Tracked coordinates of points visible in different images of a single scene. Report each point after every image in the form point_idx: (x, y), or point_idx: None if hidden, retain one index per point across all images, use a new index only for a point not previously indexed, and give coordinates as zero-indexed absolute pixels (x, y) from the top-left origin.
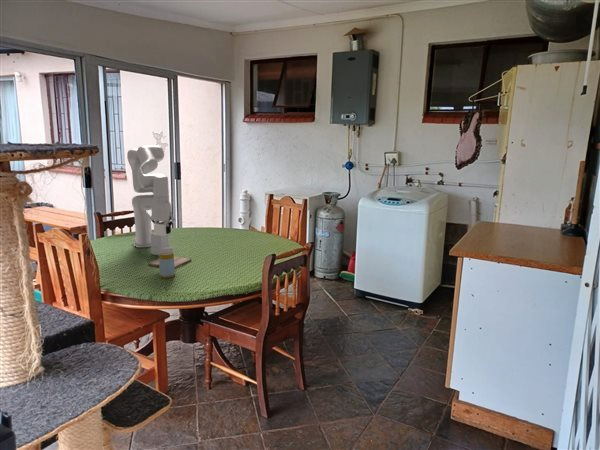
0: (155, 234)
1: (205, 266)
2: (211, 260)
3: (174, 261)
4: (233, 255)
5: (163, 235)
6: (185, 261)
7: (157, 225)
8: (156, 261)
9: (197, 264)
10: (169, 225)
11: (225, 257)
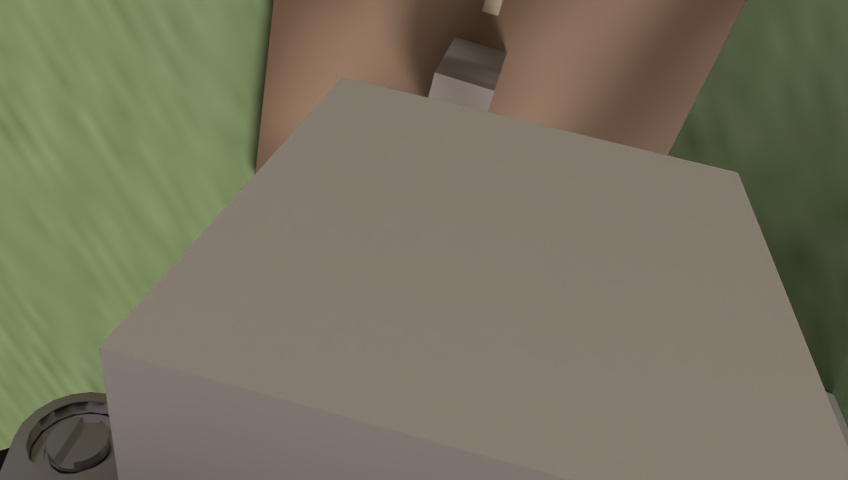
0: (685, 171)
1: (7, 4)
2: (83, 220)
3: (405, 80)
4: (2, 362)
5: (349, 86)
6: (268, 96)
7: (566, 408)
8: (668, 51)
9: (133, 70)
10: (29, 450)
11: (25, 311)
